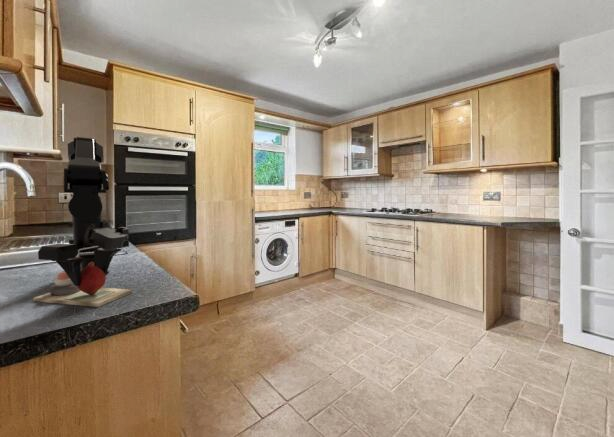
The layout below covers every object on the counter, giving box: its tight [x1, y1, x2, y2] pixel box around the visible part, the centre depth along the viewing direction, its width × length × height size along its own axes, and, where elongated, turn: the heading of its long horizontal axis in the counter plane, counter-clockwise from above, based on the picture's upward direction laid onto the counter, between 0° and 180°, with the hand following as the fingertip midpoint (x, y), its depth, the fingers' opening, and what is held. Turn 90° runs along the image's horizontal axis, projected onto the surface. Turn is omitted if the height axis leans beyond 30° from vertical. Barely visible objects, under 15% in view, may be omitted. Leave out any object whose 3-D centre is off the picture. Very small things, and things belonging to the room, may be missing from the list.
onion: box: [77, 262, 107, 295], centre depth 71 cm, size 6×6×8 cm
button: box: [54, 270, 73, 287], centre depth 73 cm, size 4×4×3 cm
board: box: [32, 283, 133, 308], centre depth 73 cm, size 18×10×3 cm, turn 79°
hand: (90, 281), depth 71 cm, fingers open, 6 cm apart
